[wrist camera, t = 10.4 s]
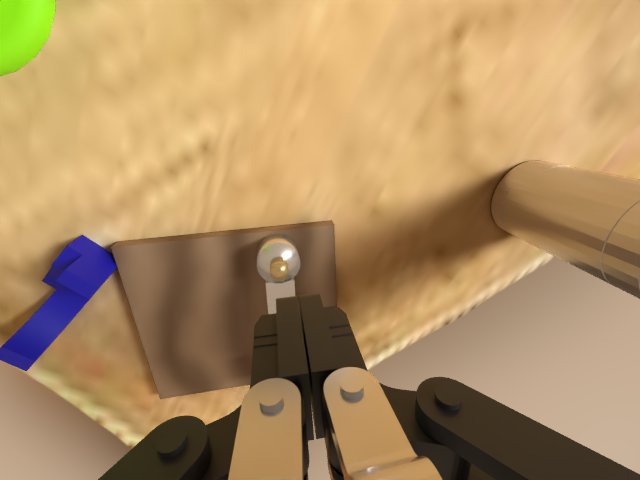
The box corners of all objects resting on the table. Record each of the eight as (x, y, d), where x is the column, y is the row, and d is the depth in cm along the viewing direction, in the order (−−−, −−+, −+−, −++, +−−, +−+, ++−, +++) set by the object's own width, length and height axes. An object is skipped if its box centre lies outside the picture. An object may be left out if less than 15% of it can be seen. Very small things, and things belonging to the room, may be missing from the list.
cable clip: (83, 234, 33) (47, 259, 28) (123, 259, 35) (98, 288, 29) (20, 311, 35) (-25, 349, 30) (61, 332, 37) (26, 371, 31)
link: (255, 235, 34) (254, 254, 30) (296, 232, 35) (301, 250, 31) (268, 364, 41) (269, 394, 37) (302, 359, 42) (307, 389, 37)
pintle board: (331, 220, 37) (344, 241, 31) (336, 362, 45) (347, 399, 39) (117, 241, 34) (86, 269, 28) (163, 389, 42) (147, 435, 36)
